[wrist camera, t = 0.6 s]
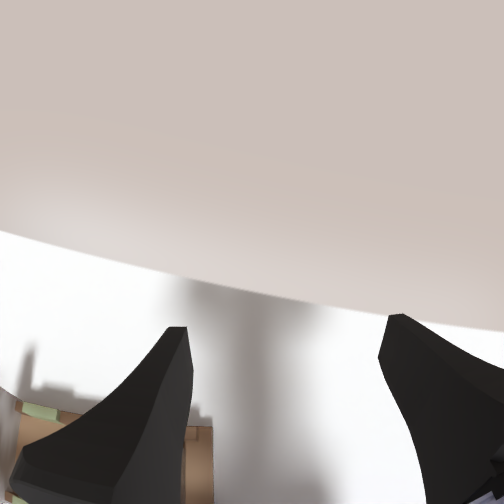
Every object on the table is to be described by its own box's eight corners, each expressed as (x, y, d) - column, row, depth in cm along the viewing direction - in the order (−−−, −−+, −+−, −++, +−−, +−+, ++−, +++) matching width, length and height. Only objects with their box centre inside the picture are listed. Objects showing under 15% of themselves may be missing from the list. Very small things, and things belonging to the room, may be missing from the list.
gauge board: (215, 550, 15) (204, 567, 11) (7, 499, 15) (-34, 490, 11) (212, 428, 23) (202, 411, 19) (19, 402, 22) (-18, 378, 18)
